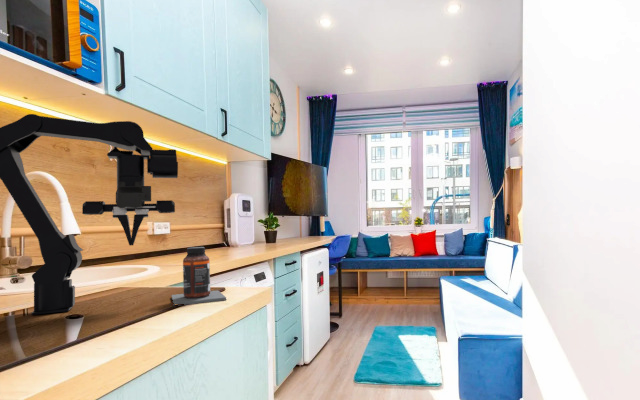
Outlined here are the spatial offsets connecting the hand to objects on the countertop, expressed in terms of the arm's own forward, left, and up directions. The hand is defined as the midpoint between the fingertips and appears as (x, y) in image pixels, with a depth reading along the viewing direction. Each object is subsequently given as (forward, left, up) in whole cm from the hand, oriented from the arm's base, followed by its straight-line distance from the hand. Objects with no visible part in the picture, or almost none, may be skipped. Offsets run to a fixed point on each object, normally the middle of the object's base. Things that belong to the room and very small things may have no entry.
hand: (131, 245), depth 90 cm
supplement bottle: (+14, -4, -13) cm, 19 cm away
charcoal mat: (+14, -4, -13) cm, 20 cm away
